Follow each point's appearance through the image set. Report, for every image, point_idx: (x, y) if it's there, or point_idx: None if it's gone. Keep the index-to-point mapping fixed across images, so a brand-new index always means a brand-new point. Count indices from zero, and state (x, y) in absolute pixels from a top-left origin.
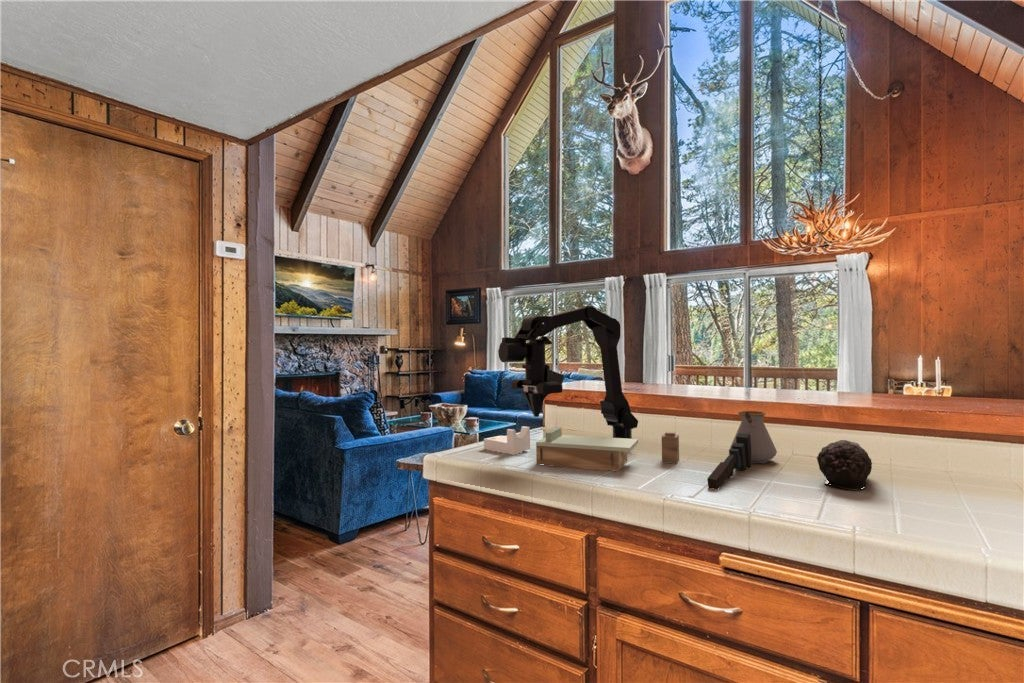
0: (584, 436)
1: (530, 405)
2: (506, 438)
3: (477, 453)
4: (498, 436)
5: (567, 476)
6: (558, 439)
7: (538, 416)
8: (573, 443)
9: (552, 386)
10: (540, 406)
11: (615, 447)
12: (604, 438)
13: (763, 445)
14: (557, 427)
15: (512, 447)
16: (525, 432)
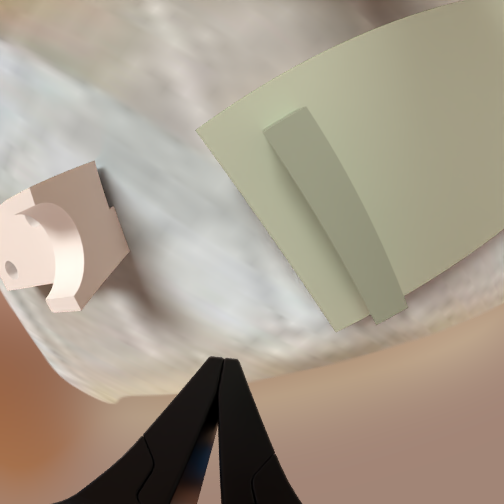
0: (407, 27)
1: (201, 483)
2: (14, 230)
3: (68, 315)
4: None
5: (470, 282)
6: (377, 208)
7: (236, 359)
8: (484, 224)
9: None
10: (267, 448)
11: None
12: (494, 26)
13: None
14: (282, 132)
15: (113, 266)
16: (48, 205)
